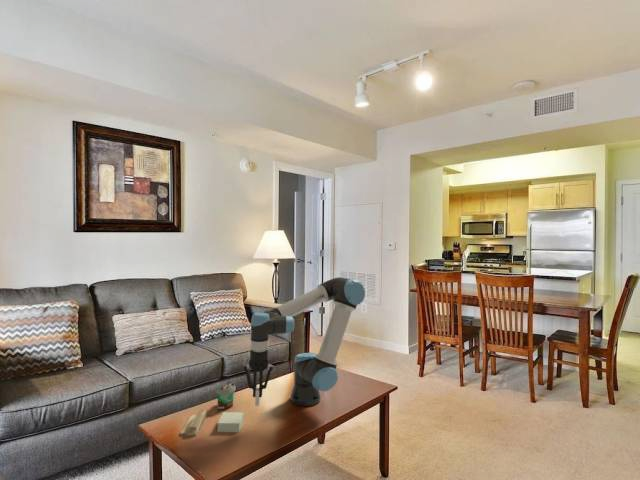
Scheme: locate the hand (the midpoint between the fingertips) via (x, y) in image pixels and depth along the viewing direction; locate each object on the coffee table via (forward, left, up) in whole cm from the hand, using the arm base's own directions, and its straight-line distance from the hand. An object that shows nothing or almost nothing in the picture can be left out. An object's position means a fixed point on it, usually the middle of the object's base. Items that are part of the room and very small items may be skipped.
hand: (257, 404), depth 165 cm
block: (+11, 0, -10) cm, 15 cm away
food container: (+16, -19, -10) cm, 27 cm away
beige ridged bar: (+27, 0, -10) cm, 29 cm away
